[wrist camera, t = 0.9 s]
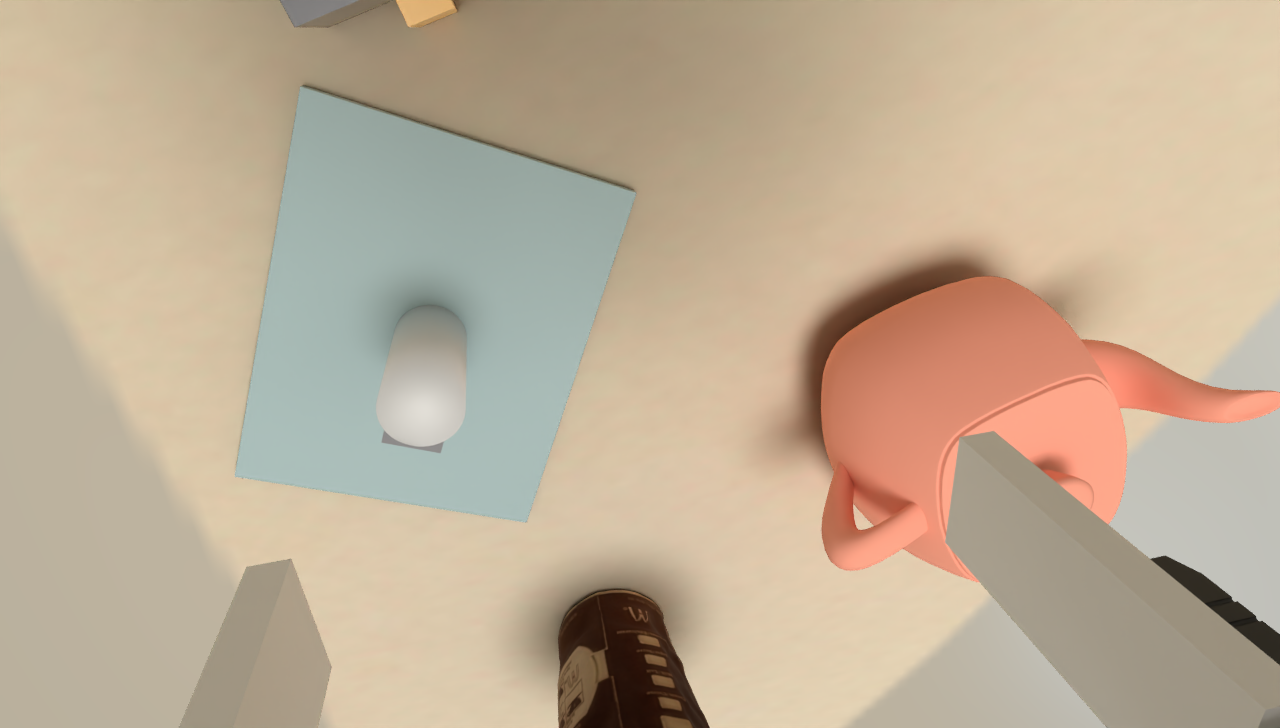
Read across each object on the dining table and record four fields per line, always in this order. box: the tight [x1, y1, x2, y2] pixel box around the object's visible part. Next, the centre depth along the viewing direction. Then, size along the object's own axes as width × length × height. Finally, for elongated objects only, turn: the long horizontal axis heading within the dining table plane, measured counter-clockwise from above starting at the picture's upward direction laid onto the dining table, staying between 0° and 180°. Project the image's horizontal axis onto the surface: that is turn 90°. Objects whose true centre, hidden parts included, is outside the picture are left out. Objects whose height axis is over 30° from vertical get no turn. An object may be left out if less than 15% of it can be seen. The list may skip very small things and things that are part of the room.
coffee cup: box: [558, 590, 710, 728], centre depth 38 cm, size 9×8×13 cm
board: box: [235, 85, 636, 522], centre depth 31 cm, size 18×14×8 cm
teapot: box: [821, 276, 1280, 582], centre depth 35 cm, size 13×20×12 cm, turn 111°
